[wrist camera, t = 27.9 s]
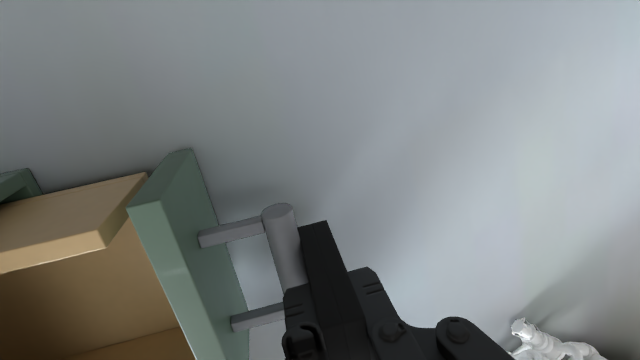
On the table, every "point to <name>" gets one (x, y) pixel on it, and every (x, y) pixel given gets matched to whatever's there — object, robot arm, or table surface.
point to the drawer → (134, 271)
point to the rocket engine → (548, 345)
